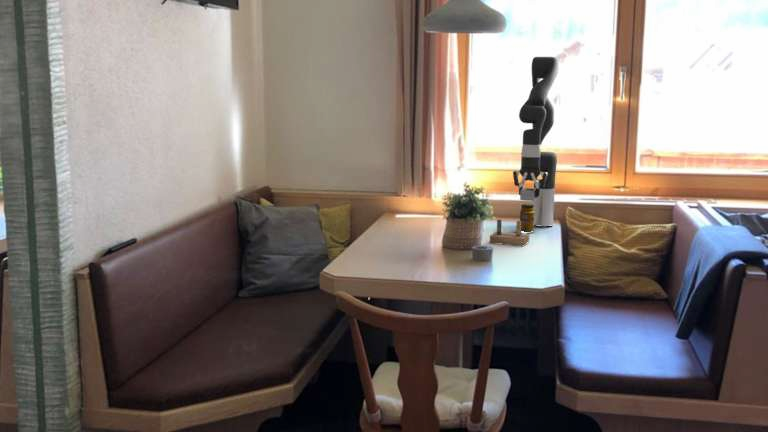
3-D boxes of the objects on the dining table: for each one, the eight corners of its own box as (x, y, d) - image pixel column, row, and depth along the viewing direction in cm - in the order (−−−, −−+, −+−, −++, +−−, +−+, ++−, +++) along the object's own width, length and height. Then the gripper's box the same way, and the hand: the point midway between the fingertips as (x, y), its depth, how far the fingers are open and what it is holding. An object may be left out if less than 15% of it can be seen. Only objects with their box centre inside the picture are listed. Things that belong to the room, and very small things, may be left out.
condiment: (537, 232, 347) (538, 204, 344) (525, 234, 341) (527, 207, 339) (523, 229, 352) (525, 202, 350) (512, 232, 346) (513, 204, 344)
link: (524, 197, 332) (524, 188, 331) (537, 198, 330) (538, 188, 329) (520, 200, 324) (520, 190, 324) (533, 201, 322) (534, 191, 322)
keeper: (495, 238, 331) (496, 217, 330) (529, 241, 326) (530, 220, 325) (489, 243, 323) (490, 221, 322) (524, 246, 318) (525, 223, 316)
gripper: (550, 155, 325) (548, 197, 328) (515, 154, 330) (513, 194, 333) (547, 157, 318) (544, 199, 321) (511, 155, 323) (509, 197, 326)
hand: (529, 196), depth 327 cm, fingers closed on link, 5 cm apart
